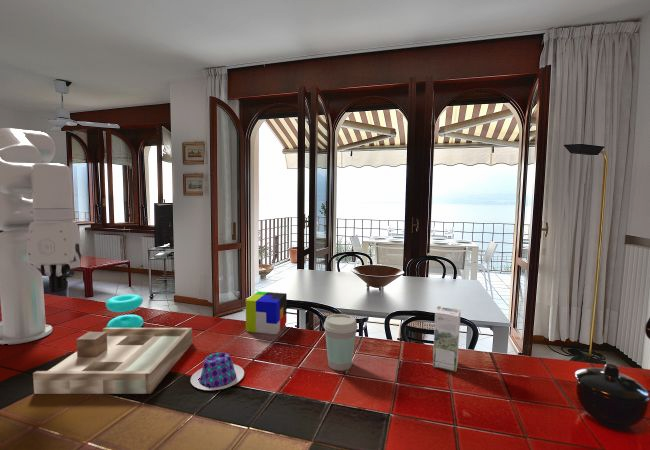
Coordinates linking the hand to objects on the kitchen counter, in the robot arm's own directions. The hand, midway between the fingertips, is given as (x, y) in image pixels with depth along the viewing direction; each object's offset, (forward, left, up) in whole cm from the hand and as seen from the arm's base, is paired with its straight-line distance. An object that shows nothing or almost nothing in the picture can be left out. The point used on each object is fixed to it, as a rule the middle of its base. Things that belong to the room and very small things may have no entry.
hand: (58, 291), depth 84 cm
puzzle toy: (+47, +25, -19) cm, 57 cm away
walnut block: (+7, 0, -16) cm, 17 cm away
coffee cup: (+69, 0, -19) cm, 71 cm away
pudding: (+40, -6, -19) cm, 45 cm away
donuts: (+3, +23, -19) cm, 30 cm away
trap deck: (+15, 0, -19) cm, 24 cm away
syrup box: (+96, 0, -19) cm, 98 cm away
